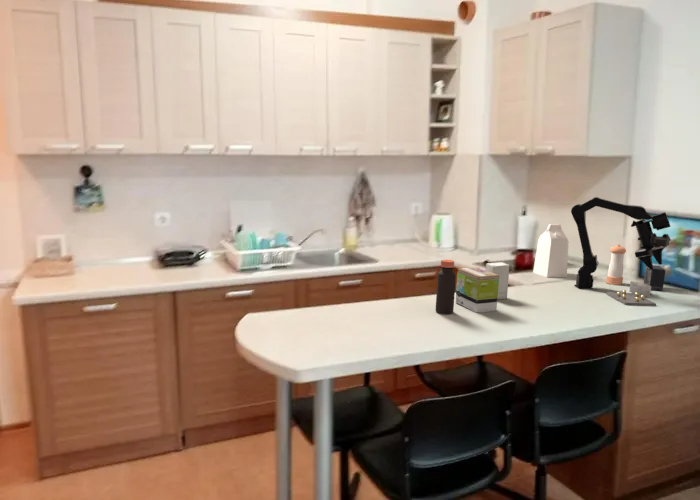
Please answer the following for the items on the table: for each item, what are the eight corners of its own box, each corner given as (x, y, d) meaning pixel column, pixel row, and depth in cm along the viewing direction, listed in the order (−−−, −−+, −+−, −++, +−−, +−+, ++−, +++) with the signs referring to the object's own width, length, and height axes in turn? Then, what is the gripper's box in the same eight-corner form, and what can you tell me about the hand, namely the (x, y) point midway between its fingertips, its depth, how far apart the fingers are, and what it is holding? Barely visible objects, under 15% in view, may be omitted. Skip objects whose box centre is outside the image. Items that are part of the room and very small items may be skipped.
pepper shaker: (606, 283, 288) (610, 245, 285) (605, 281, 295) (610, 243, 292) (622, 285, 286) (627, 246, 282) (622, 282, 292) (626, 244, 289)
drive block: (638, 296, 265) (640, 285, 264) (629, 291, 274) (630, 281, 273) (649, 297, 265) (651, 286, 264) (640, 292, 274) (641, 281, 273)
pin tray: (625, 304, 249) (625, 298, 248) (606, 294, 266) (607, 288, 266) (655, 305, 249) (656, 299, 248) (635, 295, 267) (635, 289, 266)
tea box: (454, 303, 241) (456, 267, 239) (474, 301, 245) (477, 266, 243) (476, 313, 228) (478, 275, 225) (497, 311, 232) (500, 274, 229)
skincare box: (499, 295, 257) (502, 261, 254) (507, 299, 251) (510, 264, 249) (482, 296, 254) (485, 262, 251) (490, 300, 248) (493, 265, 246)
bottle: (449, 315, 223) (452, 263, 219) (432, 312, 226) (435, 260, 223) (456, 311, 229) (459, 260, 225) (439, 308, 232) (442, 258, 229)
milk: (552, 271, 313) (557, 222, 309) (566, 276, 303) (571, 225, 298) (533, 272, 310) (537, 223, 305) (546, 277, 299) (551, 226, 294)
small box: (663, 291, 277) (666, 269, 275) (648, 290, 278) (651, 268, 276) (656, 286, 287) (659, 265, 285) (642, 285, 289) (645, 264, 287)
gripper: (655, 234, 251) (666, 269, 251) (672, 225, 263) (683, 258, 263) (629, 239, 260) (640, 273, 260) (647, 230, 272) (658, 262, 272)
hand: (656, 266), depth 263 cm, fingers open, 9 cm apart
